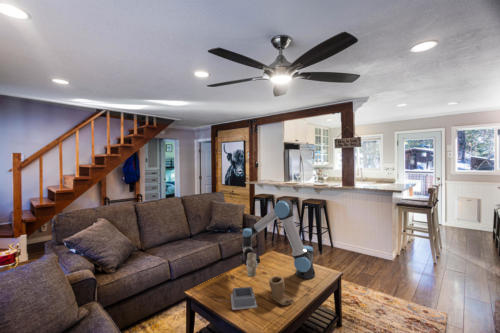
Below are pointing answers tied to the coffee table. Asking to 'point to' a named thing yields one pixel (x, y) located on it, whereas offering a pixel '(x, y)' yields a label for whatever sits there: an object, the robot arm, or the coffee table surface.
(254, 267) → the peg
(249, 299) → the well
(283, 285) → the tan boot
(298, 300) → the coffee table surface
